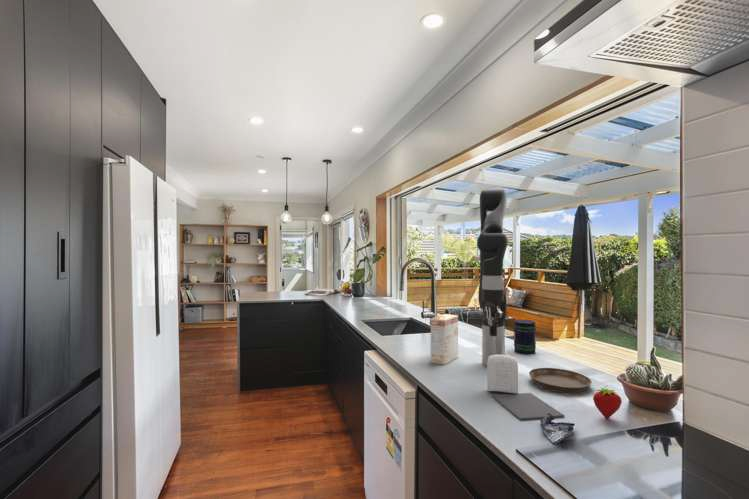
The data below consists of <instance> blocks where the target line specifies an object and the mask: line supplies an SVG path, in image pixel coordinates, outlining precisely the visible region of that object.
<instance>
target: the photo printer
mask: <svg viewBox="0 0 749 499" xmlns="http://www.w3.org/2000/svg"><path fill="white" fill-rule="evenodd" d="M486 390H487V391H492V392H500V393H501V392H502V393H508V394H518V393H519V364H518V360H517V358H516V357H514V356H511V355H507V354H505V355H491V356H489V358H488V360H487V367H486Z"/></svg>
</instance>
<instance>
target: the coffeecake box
mask: <svg viewBox="0 0 749 499" xmlns="http://www.w3.org/2000/svg"><path fill="white" fill-rule="evenodd" d="M457 358H459V315H458V314H457V315H456V314H449V313H444V314H441V315H438V316H435V317H431V318H430V363H432V364H438V365H443V366H445V365H447V364H449V363H450V362H452V361H454V360H455V359H457Z"/></svg>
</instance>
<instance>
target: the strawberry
mask: <svg viewBox="0 0 749 499" xmlns="http://www.w3.org/2000/svg"><path fill="white" fill-rule="evenodd" d="M606 387H608V384H606ZM615 391H616V390H615V389H609V388H605V387H604V388H603V387H600V389H596V392H595V393H594V394H593V397H592V400H593V403H594V405H595V407H596V408H597V409H598V412H600V414H601V415H602V416H603V417H604V418H605V419H609V418H611V417H612V416H613V415H614V414H615V413H616V412H617V411H619V409H620V408H621V406H622V398H621V397H620V395H619V394H618V393H617V392H615Z"/></svg>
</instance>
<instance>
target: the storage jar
mask: <svg viewBox="0 0 749 499" xmlns="http://www.w3.org/2000/svg"><path fill="white" fill-rule="evenodd" d="M513 321H514V324H513V333H514V339H513V348H514V349H513V350H514V353H515V354H518V355H524V354H525V355H527V356H528V355H529V356H531V355H530V354H533V355H536V349H537V345H536V343H537V342H536V332H537V331H536V328H537V327H536V321H534V320H531V319H514V320H513Z"/></svg>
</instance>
